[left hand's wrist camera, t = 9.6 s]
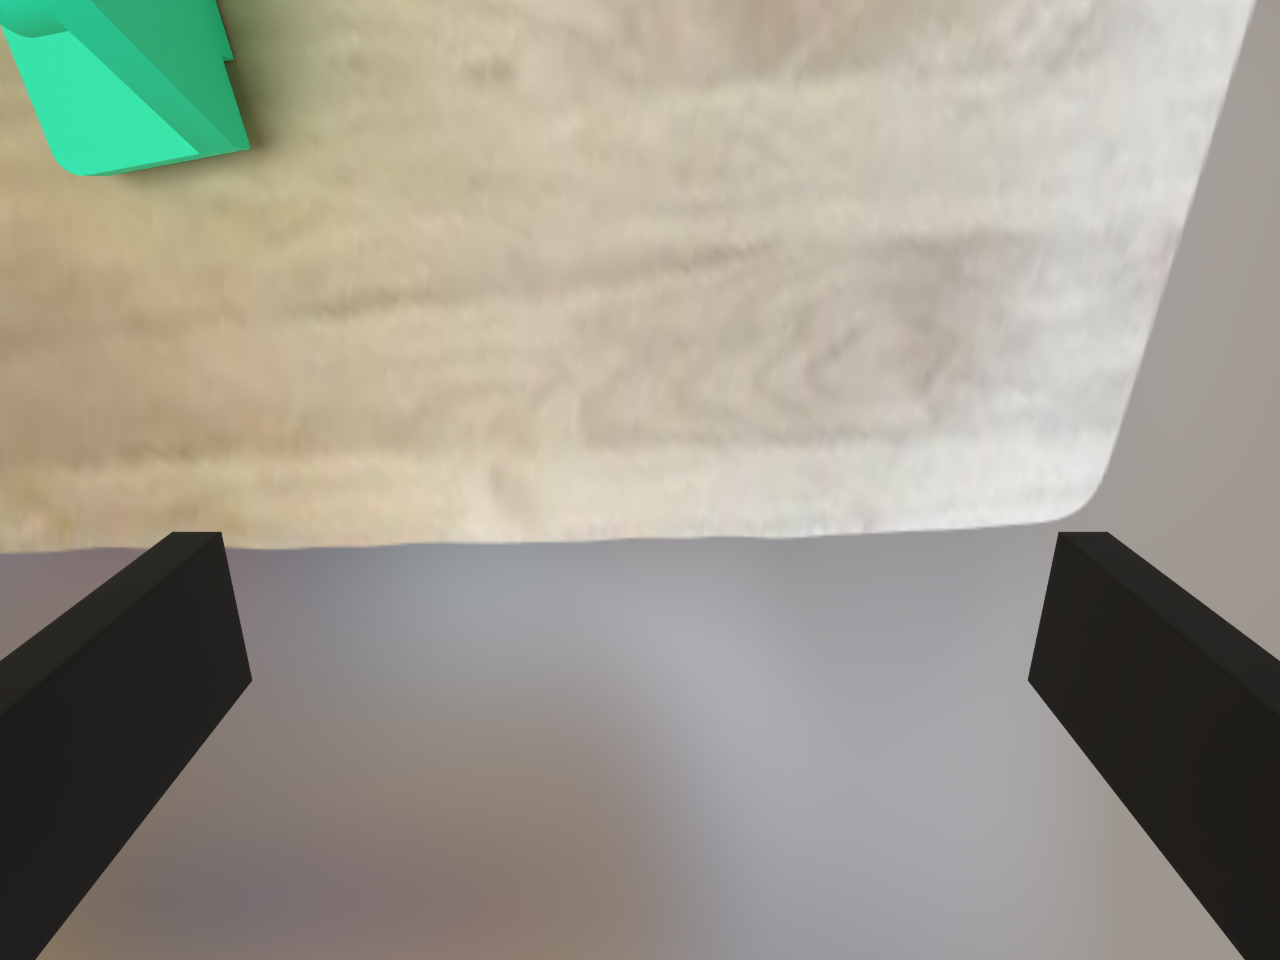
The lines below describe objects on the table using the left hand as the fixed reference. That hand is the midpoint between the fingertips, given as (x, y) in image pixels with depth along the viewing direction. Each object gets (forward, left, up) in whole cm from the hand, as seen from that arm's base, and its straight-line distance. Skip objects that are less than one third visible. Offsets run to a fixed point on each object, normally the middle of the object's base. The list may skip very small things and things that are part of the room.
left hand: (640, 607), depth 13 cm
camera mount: (-12, -22, -28) cm, 37 cm away
